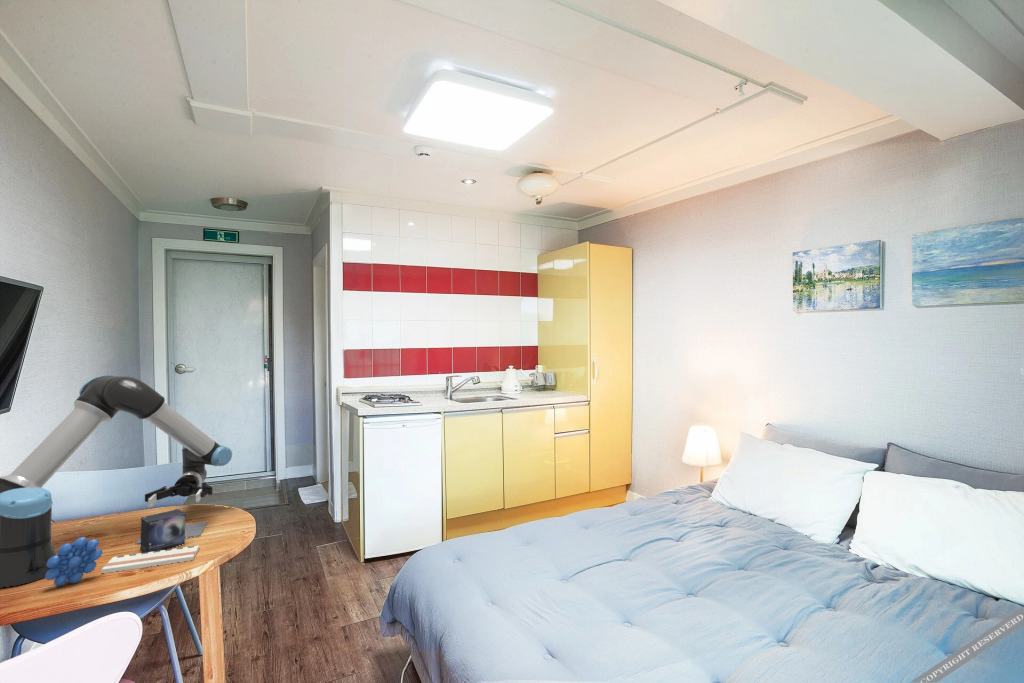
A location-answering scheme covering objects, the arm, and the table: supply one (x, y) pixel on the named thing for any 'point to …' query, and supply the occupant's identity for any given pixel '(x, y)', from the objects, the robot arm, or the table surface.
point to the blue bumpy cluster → (73, 561)
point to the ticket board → (150, 559)
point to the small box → (162, 531)
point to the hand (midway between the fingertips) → (173, 500)
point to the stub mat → (190, 530)
